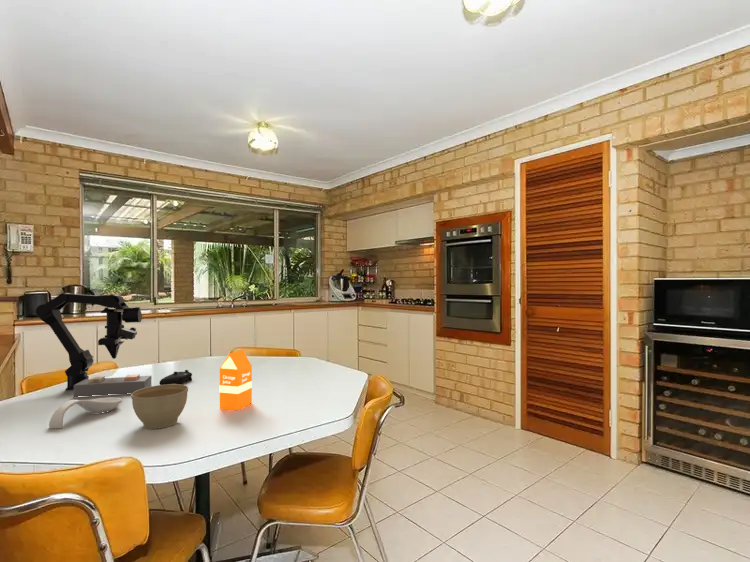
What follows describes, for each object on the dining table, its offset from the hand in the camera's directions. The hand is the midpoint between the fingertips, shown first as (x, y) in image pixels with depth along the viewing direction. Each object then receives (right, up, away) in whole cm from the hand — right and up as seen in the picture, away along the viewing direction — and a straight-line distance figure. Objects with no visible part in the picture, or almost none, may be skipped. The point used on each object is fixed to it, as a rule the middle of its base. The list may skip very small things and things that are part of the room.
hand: (114, 358), depth 176 cm
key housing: (+7, -12, -11) cm, 17 cm away
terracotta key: (+13, -10, -9) cm, 19 cm away
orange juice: (+64, -12, -29) cm, 71 cm away
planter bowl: (+46, -12, -48) cm, 67 cm away
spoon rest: (+17, -12, -40) cm, 45 cm away
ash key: (+1, -10, -12) cm, 16 cm away
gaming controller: (+25, -13, +6) cm, 28 cm away
